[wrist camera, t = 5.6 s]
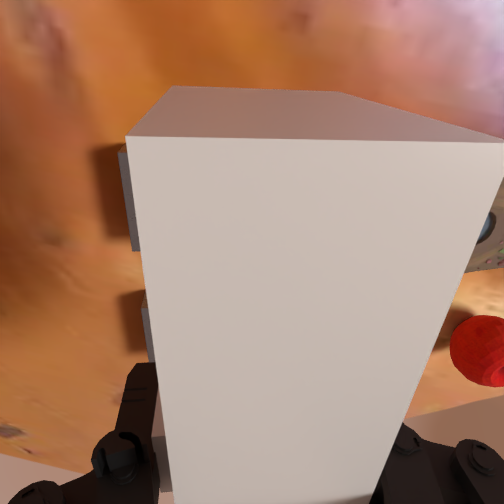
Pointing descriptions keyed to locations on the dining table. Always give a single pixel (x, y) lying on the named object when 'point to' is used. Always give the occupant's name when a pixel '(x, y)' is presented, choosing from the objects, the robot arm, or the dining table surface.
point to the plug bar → (297, 280)
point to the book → (490, 238)
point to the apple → (480, 350)
